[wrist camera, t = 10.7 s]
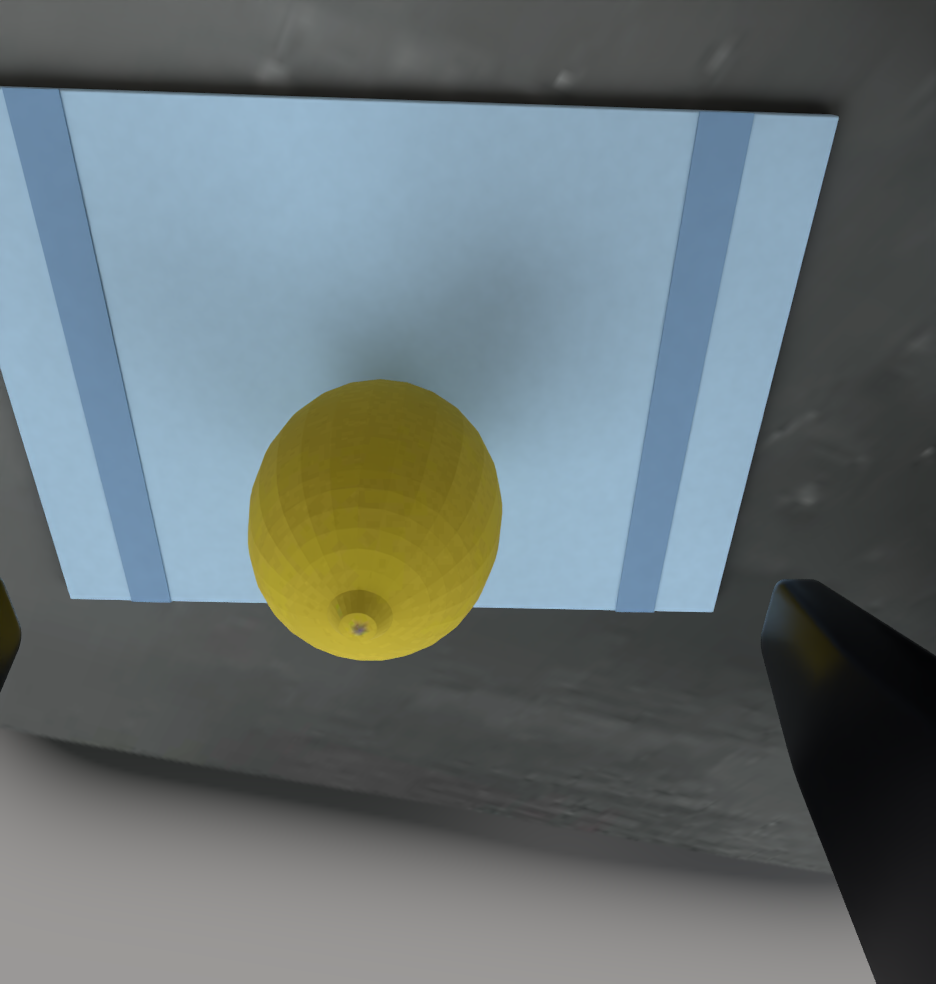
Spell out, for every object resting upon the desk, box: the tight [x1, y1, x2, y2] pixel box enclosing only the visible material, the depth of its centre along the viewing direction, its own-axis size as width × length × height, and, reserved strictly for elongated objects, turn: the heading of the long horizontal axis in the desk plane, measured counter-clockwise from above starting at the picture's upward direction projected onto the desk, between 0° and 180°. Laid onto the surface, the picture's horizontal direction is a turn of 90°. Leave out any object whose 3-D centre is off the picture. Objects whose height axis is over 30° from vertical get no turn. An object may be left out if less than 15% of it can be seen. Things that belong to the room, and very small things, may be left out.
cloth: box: [0, 86, 839, 612], centre depth 20 cm, size 20×14×1 cm
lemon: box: [248, 379, 502, 660], centre depth 17 cm, size 6×6×8 cm
